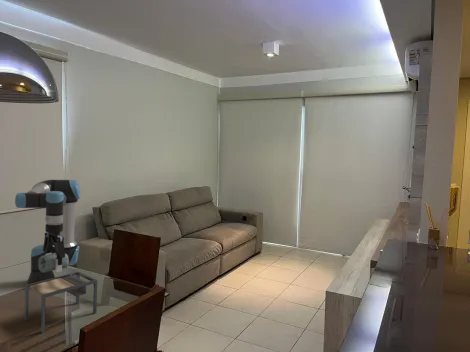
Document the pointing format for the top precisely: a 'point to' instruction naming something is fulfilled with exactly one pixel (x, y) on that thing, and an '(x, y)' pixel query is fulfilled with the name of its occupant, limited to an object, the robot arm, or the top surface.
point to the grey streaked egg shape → (51, 262)
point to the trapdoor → (60, 286)
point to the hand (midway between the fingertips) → (53, 268)
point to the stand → (78, 274)
